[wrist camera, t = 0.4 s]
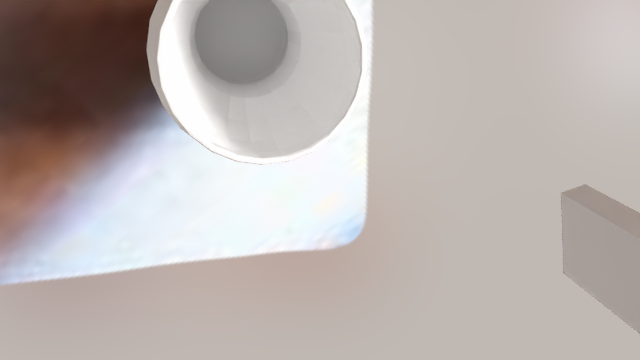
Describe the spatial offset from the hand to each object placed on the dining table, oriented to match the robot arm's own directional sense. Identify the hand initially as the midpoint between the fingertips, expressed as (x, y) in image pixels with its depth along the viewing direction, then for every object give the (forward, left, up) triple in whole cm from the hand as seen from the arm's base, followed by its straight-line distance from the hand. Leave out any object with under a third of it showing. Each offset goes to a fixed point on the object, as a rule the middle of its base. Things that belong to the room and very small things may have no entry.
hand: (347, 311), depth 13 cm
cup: (-4, +1, -27) cm, 28 cm away
